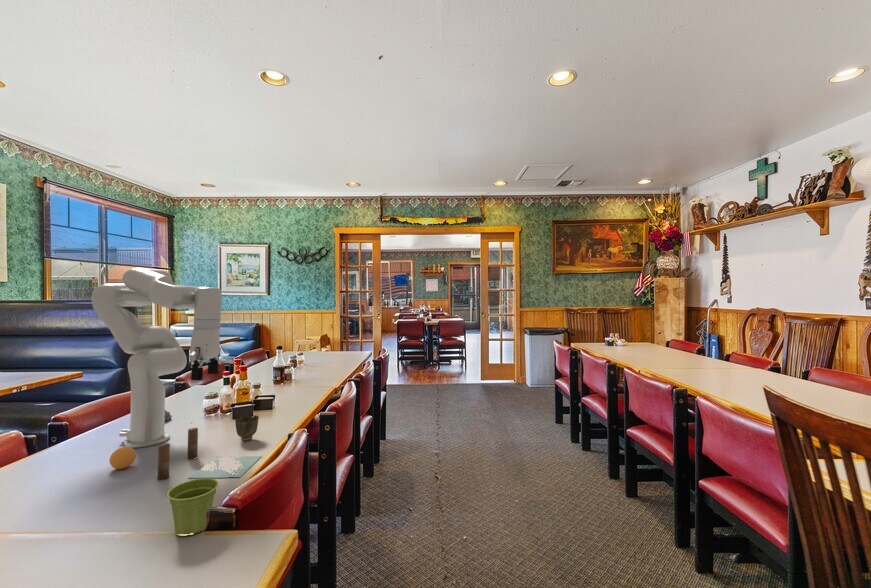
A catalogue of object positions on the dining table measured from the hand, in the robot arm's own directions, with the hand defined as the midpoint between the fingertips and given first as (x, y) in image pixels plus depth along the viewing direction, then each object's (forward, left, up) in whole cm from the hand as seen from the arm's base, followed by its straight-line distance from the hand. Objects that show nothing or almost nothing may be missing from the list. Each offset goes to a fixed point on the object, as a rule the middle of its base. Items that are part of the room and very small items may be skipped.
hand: (205, 376), depth 122 cm
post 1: (0, -19, -24) cm, 30 cm away
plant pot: (+22, -42, -24) cm, 53 cm away
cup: (+10, +9, -24) cm, 28 cm away
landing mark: (+14, -12, -24) cm, 30 cm away
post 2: (0, -6, -24) cm, 25 cm away
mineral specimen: (-37, +31, -25) cm, 54 cm away
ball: (-16, -12, -21) cm, 29 cm away
